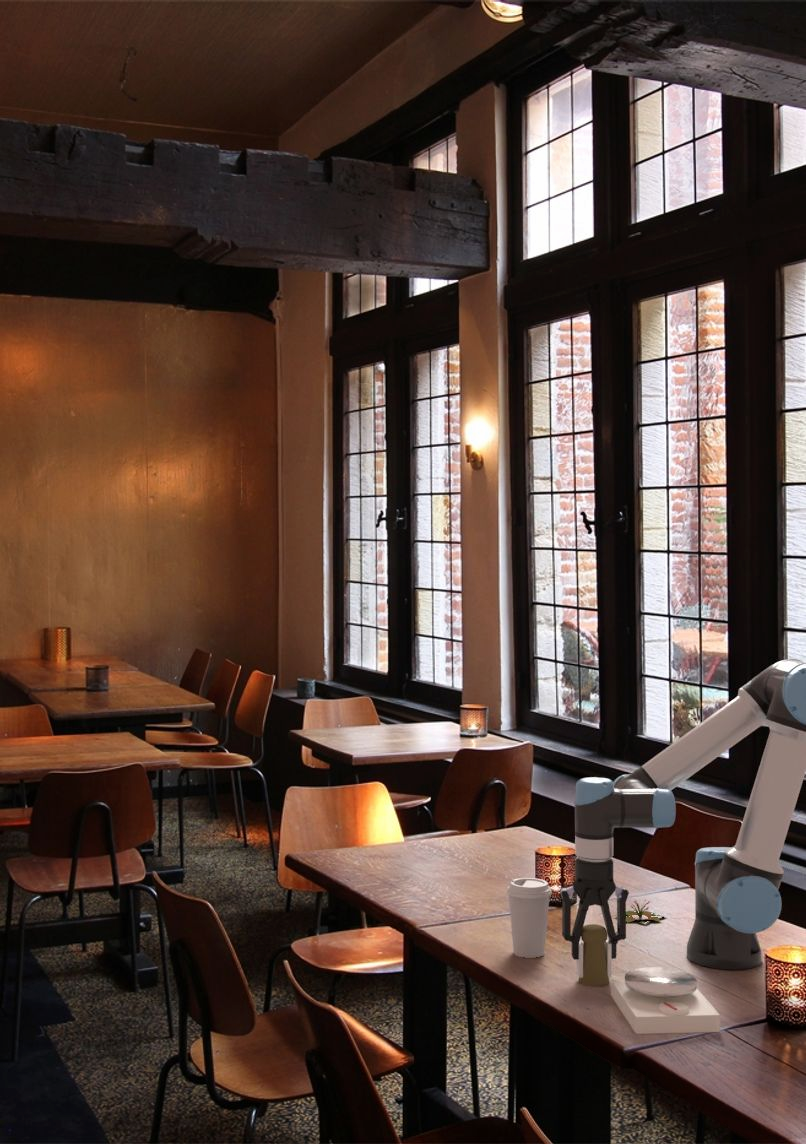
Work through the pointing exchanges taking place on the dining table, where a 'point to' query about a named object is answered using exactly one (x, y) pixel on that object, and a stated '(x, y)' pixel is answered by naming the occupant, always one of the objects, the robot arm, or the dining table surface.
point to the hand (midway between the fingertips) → (593, 974)
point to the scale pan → (660, 982)
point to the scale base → (665, 1011)
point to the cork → (594, 956)
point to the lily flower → (641, 914)
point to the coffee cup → (529, 915)
